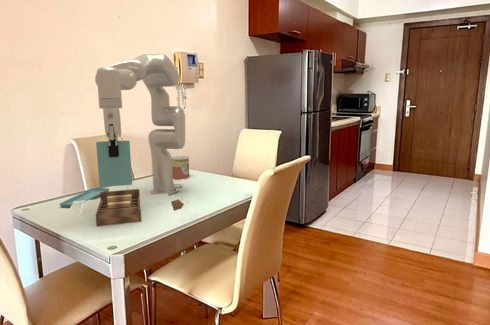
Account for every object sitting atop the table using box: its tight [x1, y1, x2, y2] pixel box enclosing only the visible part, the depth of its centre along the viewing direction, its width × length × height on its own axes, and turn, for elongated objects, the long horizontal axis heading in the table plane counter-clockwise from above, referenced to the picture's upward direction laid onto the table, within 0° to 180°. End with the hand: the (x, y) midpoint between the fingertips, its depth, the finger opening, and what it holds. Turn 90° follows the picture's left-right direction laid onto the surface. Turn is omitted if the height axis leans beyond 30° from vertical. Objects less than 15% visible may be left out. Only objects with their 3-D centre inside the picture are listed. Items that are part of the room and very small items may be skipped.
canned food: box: [171, 155, 190, 181], centre depth 204 cm, size 11×11×12 cm
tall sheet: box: [95, 139, 133, 188], centre depth 124 cm, size 11×2×16 cm, turn 108°
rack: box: [95, 188, 142, 227], centre depth 134 cm, size 15×20×9 cm
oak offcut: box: [107, 194, 132, 205], centre depth 136 cm, size 9×2×7 cm, turn 108°
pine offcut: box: [108, 201, 131, 208], centre depth 133 cm, size 8×2×6 cm, turn 108°
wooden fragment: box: [170, 198, 184, 211], centre depth 148 cm, size 26×11×1 cm, turn 166°
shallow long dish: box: [59, 187, 110, 209], centre depth 162 cm, size 26×9×2 cm, turn 172°
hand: (114, 155), depth 124 cm, fingers closed on tall sheet, 2 cm apart
